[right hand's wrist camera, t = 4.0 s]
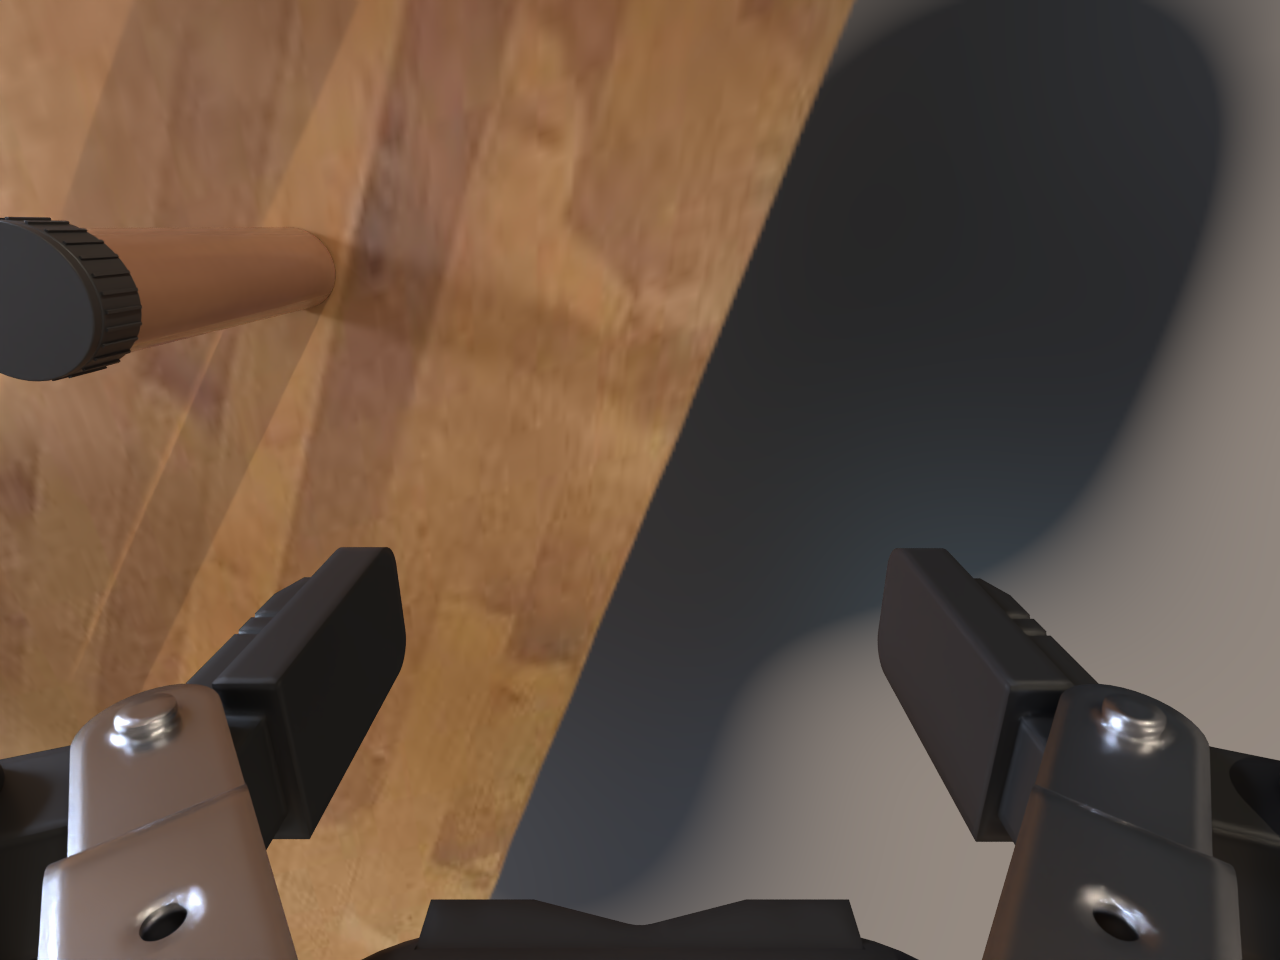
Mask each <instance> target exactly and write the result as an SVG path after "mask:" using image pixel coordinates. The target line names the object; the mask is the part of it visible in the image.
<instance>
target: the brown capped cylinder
mask: <svg viewBox="0 0 1280 960" xmlns="http://www.w3.org/2000/svg"><path fill="white" fill-rule="evenodd" d="M85 229H87V232H88V233H90V234H92V235H94V236H95V237H97V238H98V239H102V240H103V241H104V243H105V244H106V245H107V246H108V247H109V248H110V249H111V250H113V252H114V253H115V254H118V256H119V258H120V259H121V261H122V262H123V263H124V265H125V266H126V268H127V269H128V270H129V271H130V274H131V276H132V278H133V280H134V282H135V285H136V287H137V288H138V293H139V297H140V302H141V305H142V309H141V310H142V319H141V322H142V325H141V327H140V331H139V334H138V338H139V339H138V341H135V343H134V344H133V346H132V348H131V349H130V350H131V352H133V351H138V350H142V349H146V348H150V347H154V346H158V345H162V344H166V343H170V342H174V341H178V340H182V339H186V338H190V337H194V336H198V335H202V334H206V333H210V332H214V331H218V330H222V329H226V328H230V327H234V326H238V325H242V324H246V323H251V322H255V321H259V320H263V319H267V318H271V317H275V316H279V315H283V314H287V313H291V312H295V311H299V310H303V309H307V308H311V307H314V306H317V305H319V304H320V303H322V302H323V301H324V300H326V298H327V297H328V296H329V295H330V293H331V291H332V289H333V286H334V283H335V267H334V262H333V260H332V257H331V255H330V253H329V251H328V250H327V248H326V247H325V246H324V244H323V243H322V242H321V241H320V240H319V239H318V238H317V237H315V236H314V235H312V234H311V233H309V232H307V231H305V230H302V229H299V228H294V227H194V228H85Z"/></svg>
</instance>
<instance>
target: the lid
mask: <svg viewBox="0 0 1280 960" xmlns="http://www.w3.org/2000/svg"><path fill="white" fill-rule="evenodd" d="M141 309H142V305H141V302H140V297H139V293H138V288H137V287H136V285H135V282H134V280H133V278H132V276H131V274H130V271H129V270H128V269H127V268H126V266H125V265H124V263H123V262H122V261H121V259H120V258H119V256H118V254H115V253H114V252H113V250H111V249H110V248H109V247H108V246H107V245H106V244H105V243H104V241H103V240H102V239H98V238H97V237H95V236H94V235H92V234H90V233H88V232H87V229H85V228H78V227H76V226H74V225H70V224H69V222H68V221H51V218H45V217H5V218H0V373H2V374H4V375H7V376H10V377H13V378H17V379H21V380H27V381H48V380H52V381H56V380H59V379H63V378H67V377H69V378H72V377H76V376H80V375H83V374H87V373H91V372H95V371H98V370H102V369H106V368H107V367H106V366H108V365H111V364H115V363H119V362H120V360H119V359H121V358H122V357H123V356H124V355H125V354H128V353H130V352H131V350H130V349H131V348H132V346H133V344H134V343H135V341H138V339H139V338H138V334H139V331H140V327H141V325H142V322H141V319H142V310H141Z"/></svg>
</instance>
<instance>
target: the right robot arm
mask: <svg viewBox="0 0 1280 960" xmlns="http://www.w3.org/2000/svg"><path fill="white" fill-rule="evenodd" d="M405 647H406V632H405V624H404V617H403V610H402V603H401V595H400V588H399V581H398V574H397V566H396V561H395V557H394V554H393V552H392V550H391V549H390V548H388V547H341V548H338V549H337V550H336V551H335V552H334V553H333V554H332V555H331V556H330V558H329V559H328V560H327V561H326V562H325V563H324V564H323V565H322V566H321V567H320V568H319V569H318V570H317V571H316V572H315V574H314V575H313V576H312V577H304V578H302V579H300V580H299V581H297V582H295V583H293V584H292V585H290V586H288V587H286V588H284V589H283V590H281V591H279V592H277V593H275V594H274V595H273V596H272V597H271V598H270V599H269V600H268V601H267V602H266V603H265V604H264V605H263V606H262V607H261V608H260V609H259V610H258V611H257V612H256V613H255V617H251V618H250V619H249V620H248V621H247V622H246V623H245V624H244V625H243V626H242V627H241V628H240V629H239V634H234V635H233V636H232V637H231V638H230V639H229V640H228V641H227V642H226V643H225V644H224V645H223V646H222V647H221V648H220V649H219V650H218V651H217V652H216V654H215V655H214V656H213V657H212V658H211V659H210V660H209V661H208V662H207V663H206V664H205V665H204V666H203V667H202V668H201V669H200V670H199V671H198V672H197V673H196V674H195V675H194V676H193V677H192V678H191V679H190V680H189V681H188V682H187V683H186V684H176V685H168V686H163V687H158V688H155V689H151V690H147V691H144V692H141V693H139V694H136V695H133V696H131V697H128V698H126V699H124V700H122V701H119V702H118V703H116V704H114V705H112V706H110V707H108V708H107V709H105V710H103V711H102V712H100V713H99V714H97V715H96V716H95V717H93V718H92V719H91V720H90V721H88V722H87V723H86V724H85V725H84V726H83V727H82V728H81V729H80V731H79V732H78V733H77V734H76V736H75V737H74V739H73V741H72V744H71V746H66V747H61V748H56V749H51V750H46V751H41V752H36V753H31V754H26V755H21V756H16V757H11V758H6V759H1V760H0V960H298V958H297V955H296V951H295V948H294V944H293V941H292V938H291V934H290V931H289V927H288V924H287V920H286V917H285V914H284V910H283V907H282V903H281V900H280V896H279V893H278V889H277V886H276V883H275V879H274V876H273V872H272V869H271V865H270V862H269V859H268V855H267V852H266V849H267V848H268V846H269V844H270V843H271V841H272V839H310V837H311V836H312V834H313V832H314V830H315V828H316V826H317V824H318V823H319V821H320V819H321V817H322V815H323V813H324V811H325V810H326V808H327V806H328V804H329V802H330V800H331V798H332V797H333V795H334V793H335V791H336V789H337V787H338V785H339V784H340V782H341V780H342V778H343V776H344V774H345V772H346V771H347V769H348V767H349V765H350V763H351V761H352V759H353V758H354V756H355V754H356V752H357V750H358V748H359V746H360V745H361V743H362V741H363V739H364V737H365V735H366V733H367V732H368V730H369V728H370V726H371V724H372V722H373V720H374V719H375V717H376V715H377V713H378V711H379V709H380V707H381V706H382V704H383V702H384V700H385V698H386V696H387V694H388V693H389V691H390V689H391V687H392V685H393V683H394V681H395V680H396V678H397V676H398V674H399V672H400V670H401V667H402V664H403V660H404V655H405ZM878 652H879V659H880V663H881V667H882V669H883V672H884V674H885V676H886V678H887V680H888V681H889V683H890V685H891V687H892V689H893V691H894V692H895V694H896V696H897V698H898V700H899V702H900V703H901V705H902V707H903V709H904V711H905V713H906V714H907V716H908V718H909V720H910V722H911V724H912V725H913V727H914V729H915V731H916V733H917V735H918V736H919V738H920V740H921V742H922V744H923V746H924V747H925V749H926V751H927V753H928V755H929V757H930V758H931V760H932V762H933V764H934V766H935V768H936V769H937V771H938V773H939V775H940V777H941V779H942V780H943V782H944V784H945V786H946V788H947V790H948V791H949V793H950V795H951V797H952V799H953V801H954V802H955V804H956V806H957V808H958V810H959V812H960V813H961V815H962V817H963V819H964V821H965V823H966V824H967V826H968V828H969V830H970V832H971V834H972V836H973V837H974V839H975V841H976V842H1014V844H1015V848H1014V852H1013V855H1012V859H1011V862H1010V865H1009V869H1008V872H1007V876H1006V879H1005V883H1004V886H1003V890H1002V893H1001V896H1000V900H999V903H998V907H997V910H996V914H995V917H994V920H993V924H992V927H991V931H990V934H989V938H988V941H987V945H986V948H985V951H984V955H983V958H982V960H1280V761H1279V760H1274V759H1269V758H1264V757H1259V756H1254V755H1249V754H1244V753H1239V752H1234V751H1229V750H1224V749H1219V748H1214V747H1210V746H1209V744H1208V741H1207V739H1206V737H1205V736H1204V734H1203V733H1202V732H1201V731H1200V729H1199V728H1198V727H1197V726H1196V725H1195V724H1194V723H1193V722H1192V721H1190V720H1189V719H1188V718H1186V717H1185V716H1184V715H1183V714H1181V713H1180V712H1178V711H1177V710H1175V709H1173V708H1172V707H1170V706H1168V705H1166V704H1164V703H1162V702H1160V701H1158V700H1156V699H1154V698H1152V697H1149V696H1147V695H1144V694H1141V693H1139V692H1136V691H1132V690H1129V689H1125V688H1122V687H1117V686H1112V685H1104V684H1098V683H1097V682H1096V681H1095V680H1094V679H1093V678H1092V677H1091V676H1090V675H1089V674H1088V673H1087V672H1086V671H1085V670H1084V669H1083V668H1082V667H1081V666H1080V665H1079V664H1078V663H1077V662H1076V661H1075V660H1074V659H1073V658H1072V657H1071V656H1070V655H1069V654H1068V653H1067V652H1066V651H1065V650H1064V649H1063V648H1062V647H1061V646H1060V645H1059V644H1058V643H1057V642H1056V641H1055V640H1054V639H1053V638H1052V637H1051V636H1047V635H1046V631H1045V630H1044V629H1043V628H1042V627H1041V626H1040V625H1039V624H1038V623H1037V622H1036V621H1035V620H1034V619H1030V615H1029V614H1028V613H1027V612H1026V611H1025V610H1024V609H1023V608H1022V607H1021V606H1020V605H1019V604H1018V603H1017V602H1016V601H1015V600H1014V599H1013V598H1012V597H1011V596H1010V595H1009V594H1007V593H1005V592H1003V591H1001V590H1000V589H998V588H996V587H994V586H992V585H991V584H989V583H987V582H985V581H984V580H982V579H974V578H973V577H972V576H971V575H970V574H969V573H968V572H967V571H966V570H965V569H964V568H963V567H962V566H961V565H960V564H959V563H958V562H957V560H956V559H955V558H954V557H953V556H952V555H951V554H950V553H949V552H948V551H947V550H946V549H943V548H896V549H894V550H893V551H892V553H891V555H890V557H889V561H888V566H887V573H886V580H885V587H884V594H883V602H882V609H881V616H880V623H879V630H878ZM362 960H918V959H916V958H914V957H912V956H910V955H907V954H905V953H903V952H901V951H899V950H896V949H893V948H891V947H888V946H885V945H883V944H880V943H877V942H875V941H871V940H867V939H863V938H861V937H860V934H859V931H858V928H857V925H856V921H855V918H854V915H853V911H852V908H851V905H850V902H849V900H743V901H739V902H735V903H731V904H727V905H723V906H719V907H716V908H712V909H708V910H704V911H700V912H696V913H692V914H688V915H684V916H681V917H677V918H673V919H669V920H665V921H661V922H657V923H653V924H648V925H632V924H627V923H623V922H619V921H615V920H611V919H607V918H603V917H599V916H596V915H592V914H588V913H584V912H580V911H576V910H572V909H568V908H564V907H561V906H557V905H553V904H549V903H545V902H541V901H537V900H431V902H430V905H429V908H428V911H427V915H426V918H425V921H424V924H423V928H422V931H421V934H420V937H419V938H417V939H413V940H409V941H405V942H403V943H400V944H397V945H395V946H392V947H389V948H387V949H384V950H381V951H379V952H377V953H375V954H372V955H370V956H368V957H366V958H364V959H362Z"/></svg>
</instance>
